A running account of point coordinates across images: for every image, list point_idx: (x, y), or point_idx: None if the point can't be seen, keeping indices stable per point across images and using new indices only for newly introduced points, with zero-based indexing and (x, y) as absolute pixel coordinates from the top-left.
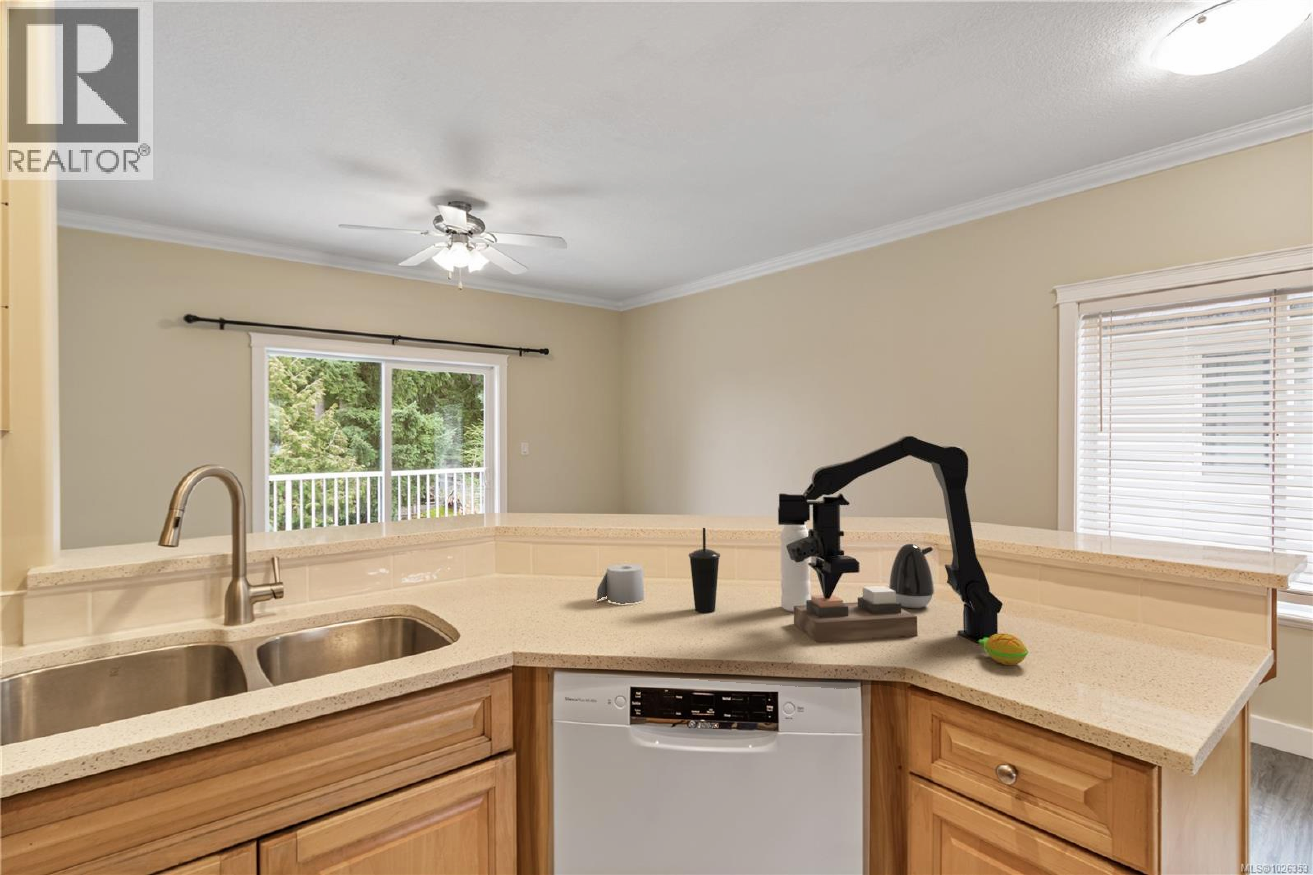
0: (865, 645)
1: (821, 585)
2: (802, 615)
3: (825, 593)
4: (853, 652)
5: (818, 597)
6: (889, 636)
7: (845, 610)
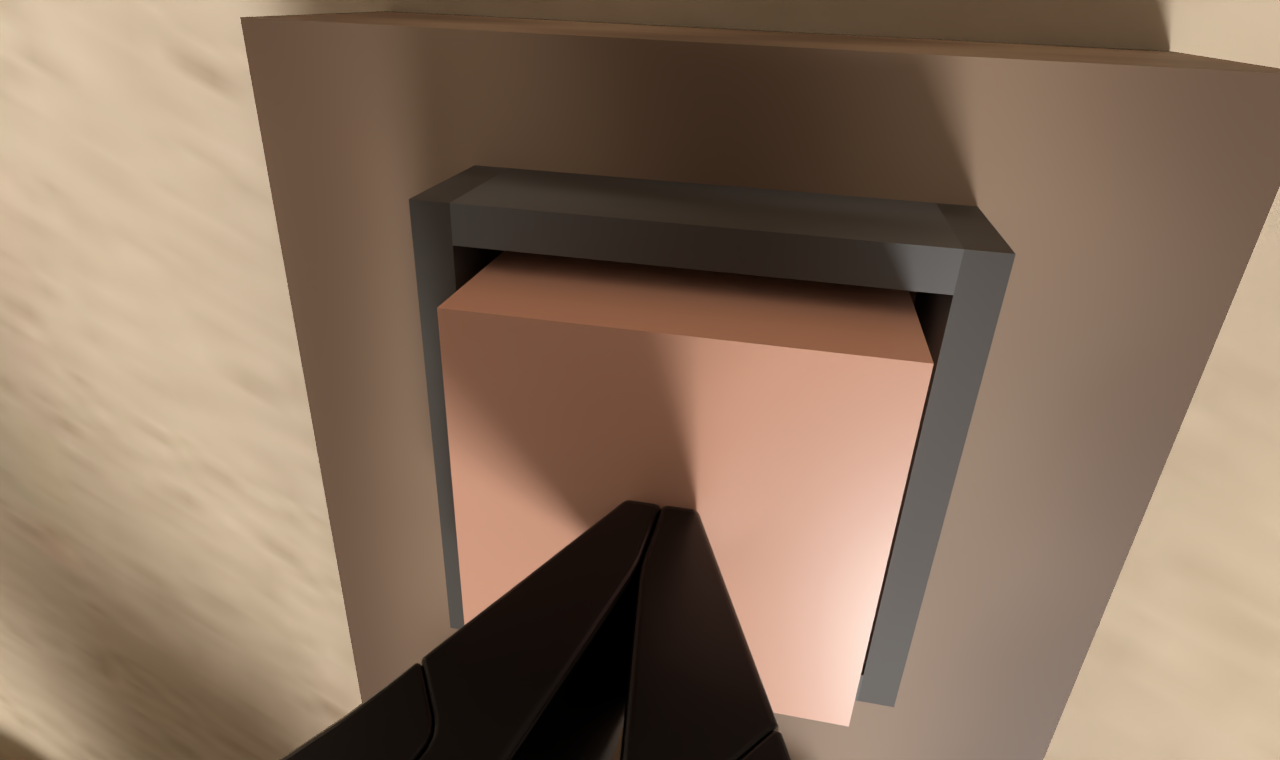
0: (287, 405)
1: (669, 648)
2: (840, 46)
3: (574, 546)
4: (116, 218)
5: (731, 420)
6: None
7: None
